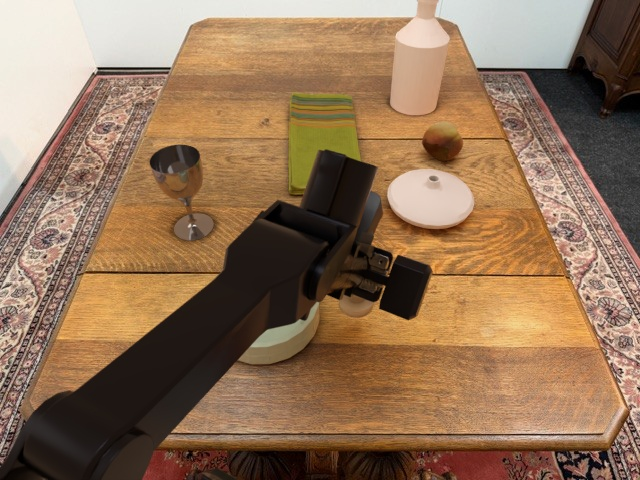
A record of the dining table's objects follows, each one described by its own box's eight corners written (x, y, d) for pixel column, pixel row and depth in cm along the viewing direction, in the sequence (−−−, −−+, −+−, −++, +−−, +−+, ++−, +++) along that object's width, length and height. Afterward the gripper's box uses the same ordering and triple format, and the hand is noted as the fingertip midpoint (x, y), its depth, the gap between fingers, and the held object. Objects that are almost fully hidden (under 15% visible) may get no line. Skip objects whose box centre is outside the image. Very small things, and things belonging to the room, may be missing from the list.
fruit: (459, 170, 97) (467, 136, 91) (418, 165, 98) (424, 132, 92) (459, 149, 102) (466, 116, 96) (420, 145, 103) (425, 112, 98)
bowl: (298, 379, 64) (297, 360, 61) (191, 349, 68) (183, 329, 64) (332, 289, 75) (332, 268, 72) (238, 267, 79) (233, 246, 75)
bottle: (440, 116, 112) (462, 4, 94) (390, 115, 112) (402, 4, 94) (434, 91, 120) (452, -16, 102) (387, 91, 120) (397, -16, 103)
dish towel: (351, 102, 117) (352, 90, 114) (367, 194, 92) (368, 181, 89) (289, 104, 116) (288, 91, 114) (288, 197, 91) (286, 184, 89)
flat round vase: (378, 229, 85) (382, 199, 80) (392, 176, 95) (396, 147, 90) (468, 245, 82) (477, 214, 77) (472, 189, 92) (481, 159, 87)
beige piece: (373, 319, 63) (381, 252, 54) (337, 316, 63) (339, 249, 54) (373, 291, 66) (381, 223, 57) (339, 288, 66) (341, 221, 57)
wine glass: (207, 244, 83) (189, 175, 72) (164, 239, 84) (140, 171, 73) (221, 214, 88) (207, 146, 77) (181, 210, 89) (161, 142, 78)
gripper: (443, 215, 43) (454, 228, 57) (267, 160, 49) (318, 185, 63) (403, 330, 43) (424, 314, 58) (234, 262, 49) (292, 263, 64)
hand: (362, 264), depth 61 cm, fingers closed on beige piece, 2 cm apart
